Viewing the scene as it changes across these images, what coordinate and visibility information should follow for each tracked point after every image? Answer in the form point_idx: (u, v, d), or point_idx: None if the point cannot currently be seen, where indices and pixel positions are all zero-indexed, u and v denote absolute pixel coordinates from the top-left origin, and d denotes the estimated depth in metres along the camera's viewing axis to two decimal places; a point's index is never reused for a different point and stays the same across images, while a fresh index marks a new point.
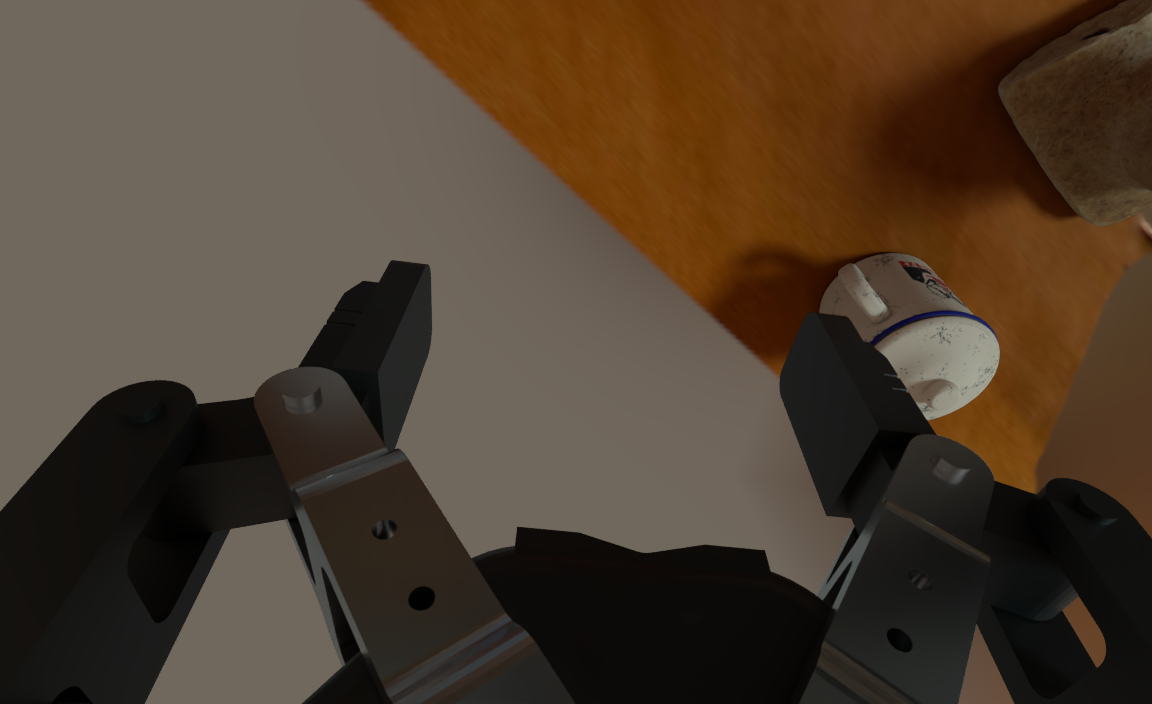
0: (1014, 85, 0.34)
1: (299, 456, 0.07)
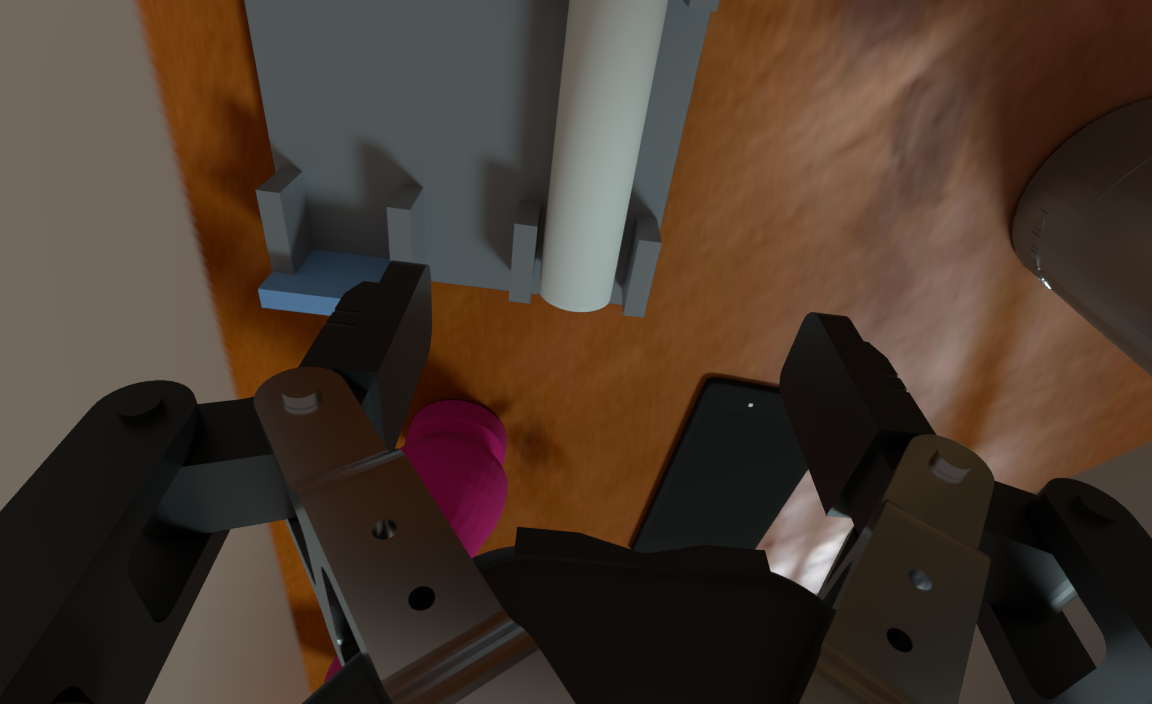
0: None
1: (299, 456, 0.07)
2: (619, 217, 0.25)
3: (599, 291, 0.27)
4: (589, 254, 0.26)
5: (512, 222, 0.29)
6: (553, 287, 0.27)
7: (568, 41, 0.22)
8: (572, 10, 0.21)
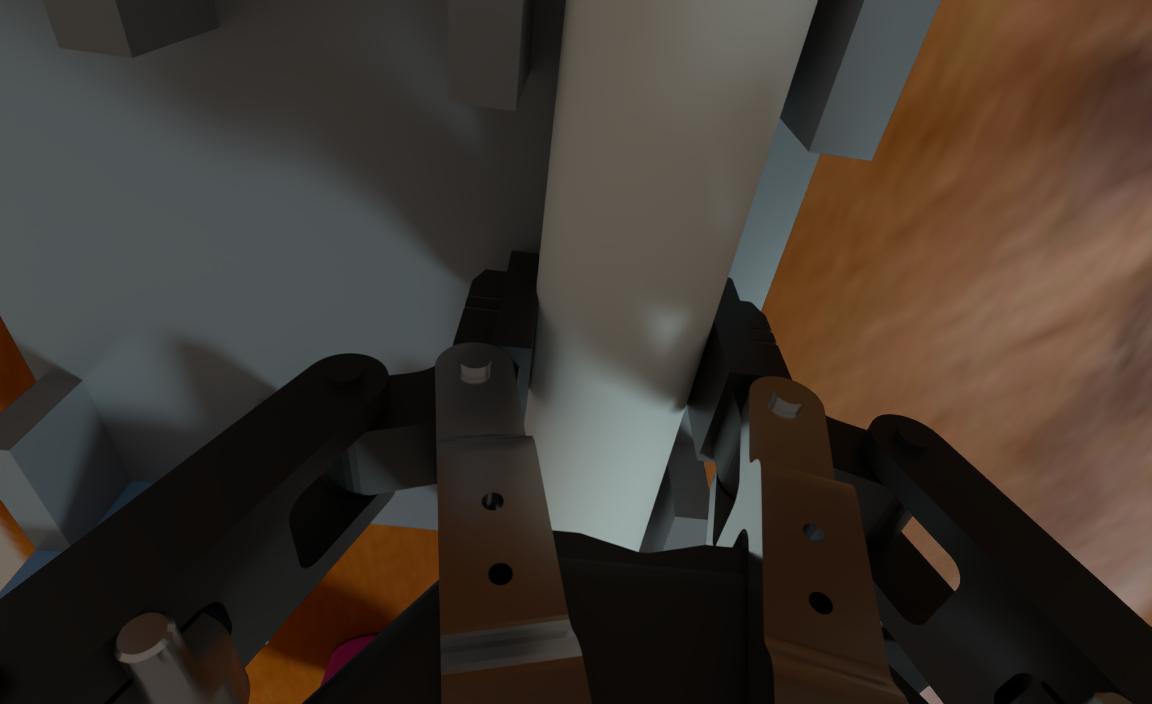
0: None
1: (490, 419, 0.08)
2: (656, 490, 0.14)
3: None
4: None
5: None
6: None
7: (556, 222, 0.10)
8: (565, 164, 0.09)
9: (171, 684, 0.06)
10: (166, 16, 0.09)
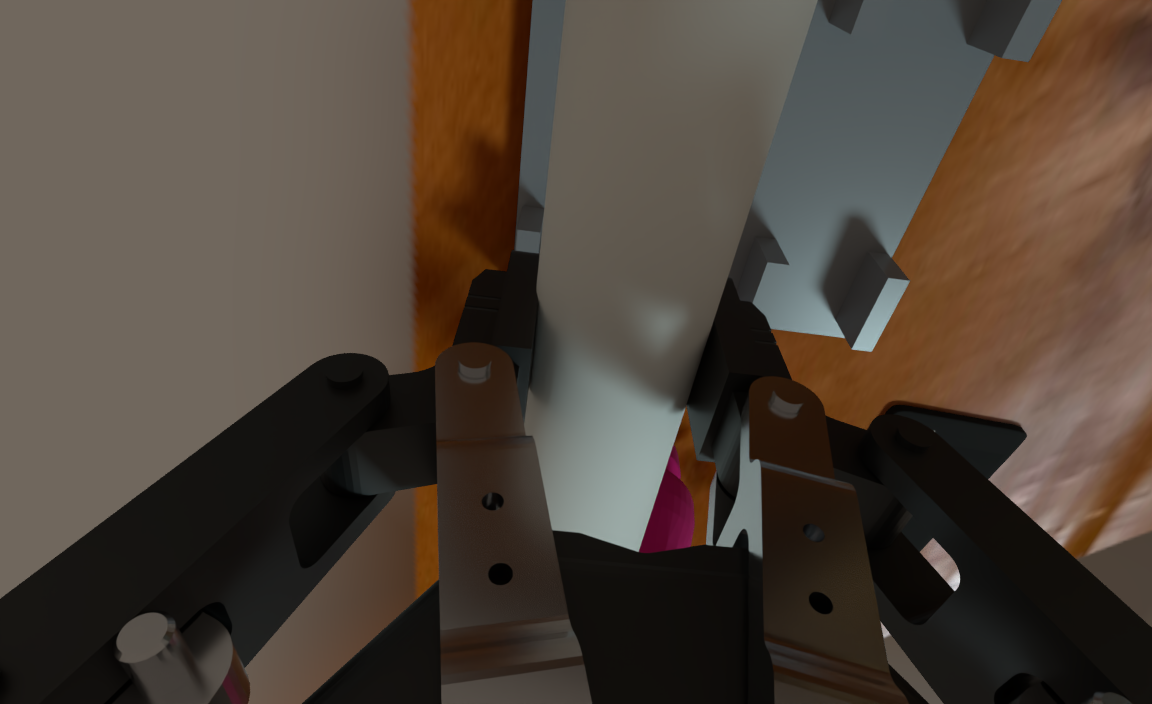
0: None
1: (490, 419, 0.08)
2: (655, 490, 0.14)
3: None
4: None
5: (742, 257, 0.29)
6: None
7: (556, 223, 0.10)
8: (565, 165, 0.09)
9: (171, 684, 0.06)
10: None
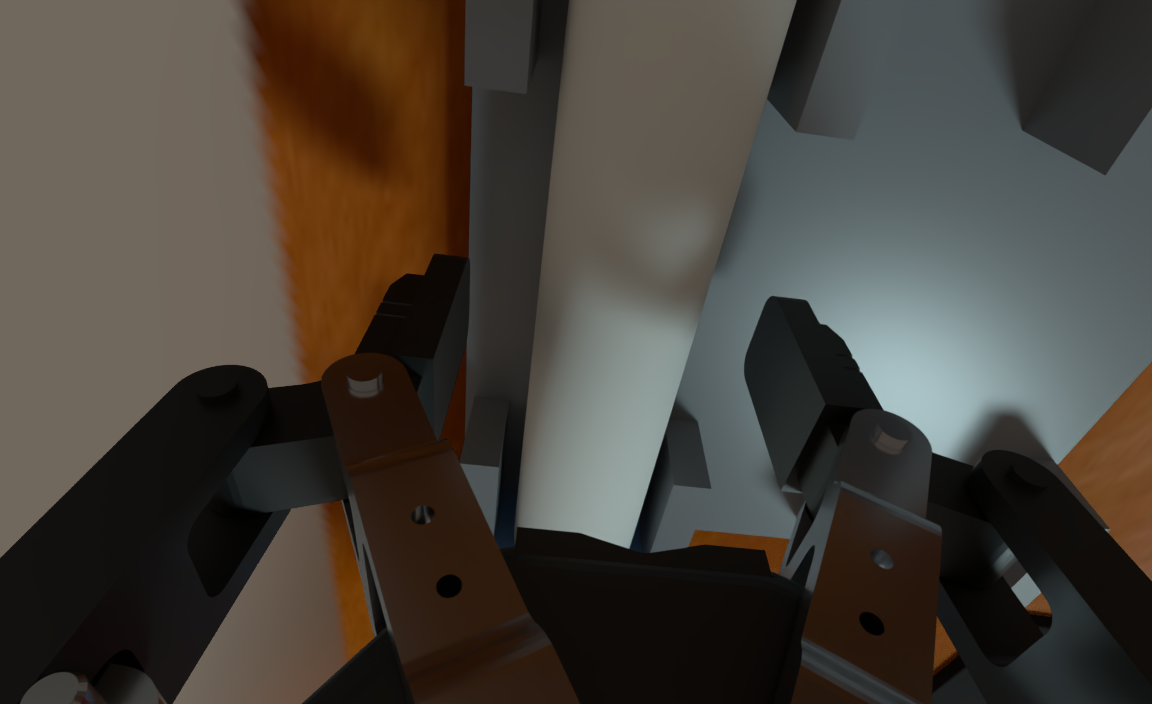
0: None
1: (369, 436, 0.08)
2: (654, 458, 0.15)
3: None
4: (605, 520, 0.15)
5: None
6: None
7: (561, 199, 0.11)
8: (569, 144, 0.10)
9: None
10: None
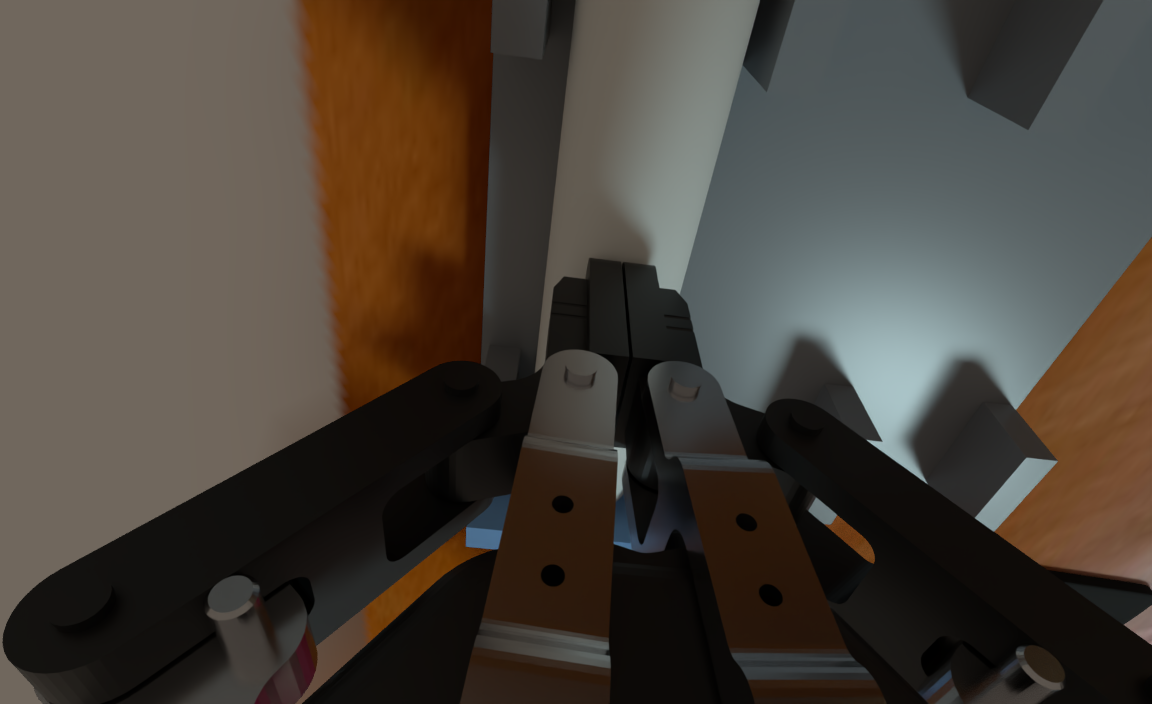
0: None
1: (606, 426, 0.09)
2: None
3: (619, 482, 0.18)
4: None
5: None
6: None
7: (570, 149, 0.13)
8: (578, 100, 0.12)
9: (246, 647, 0.06)
10: None
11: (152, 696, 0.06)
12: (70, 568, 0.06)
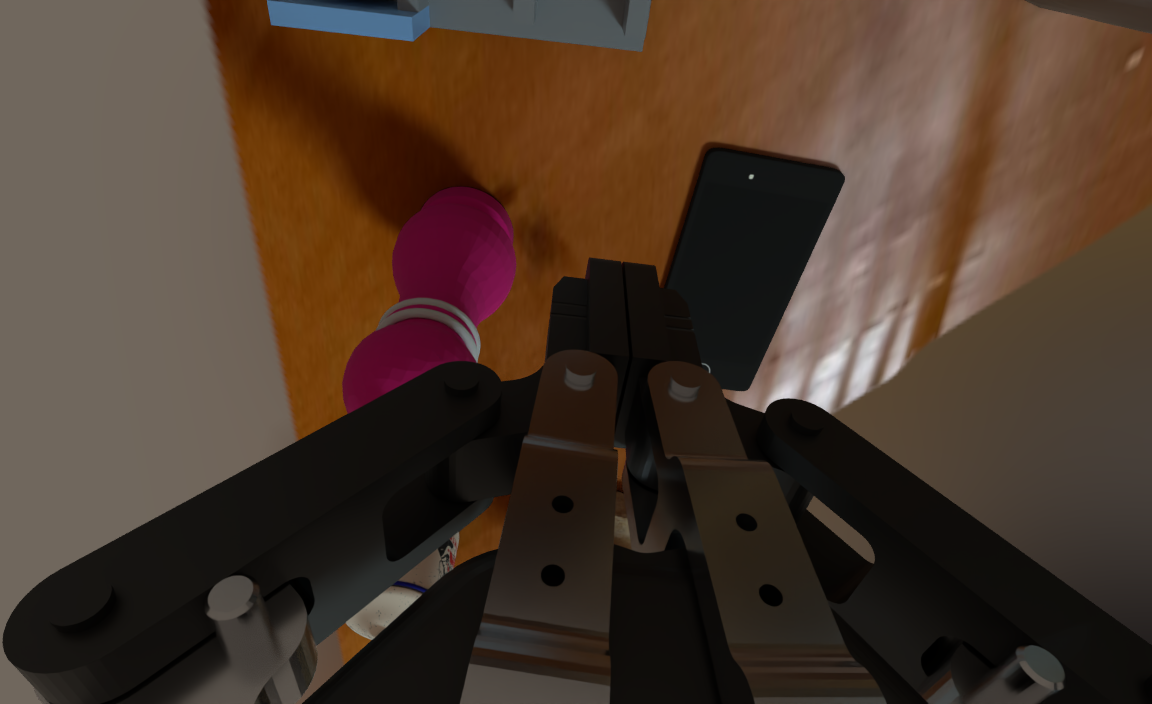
0: None
1: (606, 426, 0.09)
2: None
3: None
4: None
5: None
6: None
7: None
8: None
9: (246, 647, 0.06)
10: None
11: (152, 696, 0.06)
12: (70, 568, 0.06)
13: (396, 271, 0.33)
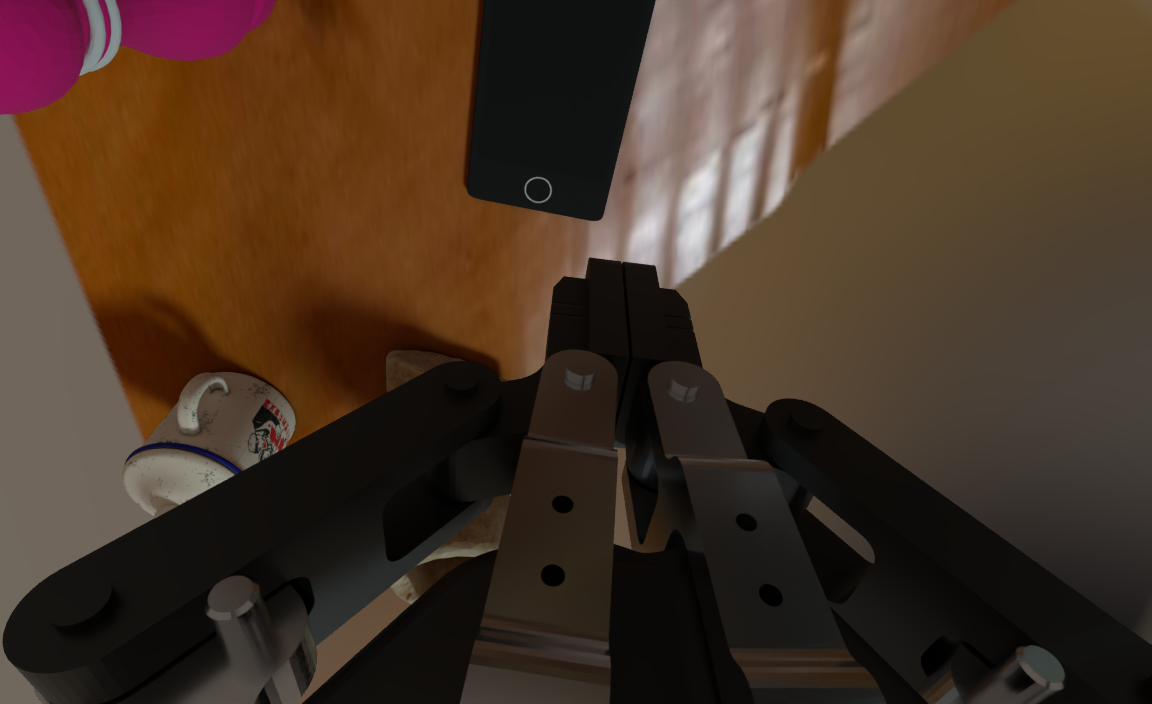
0: (392, 360, 0.44)
1: (606, 426, 0.09)
2: None
3: None
4: None
5: None
6: None
7: None
8: None
9: (246, 647, 0.06)
10: None
11: (152, 696, 0.06)
12: (71, 567, 0.06)
13: None
